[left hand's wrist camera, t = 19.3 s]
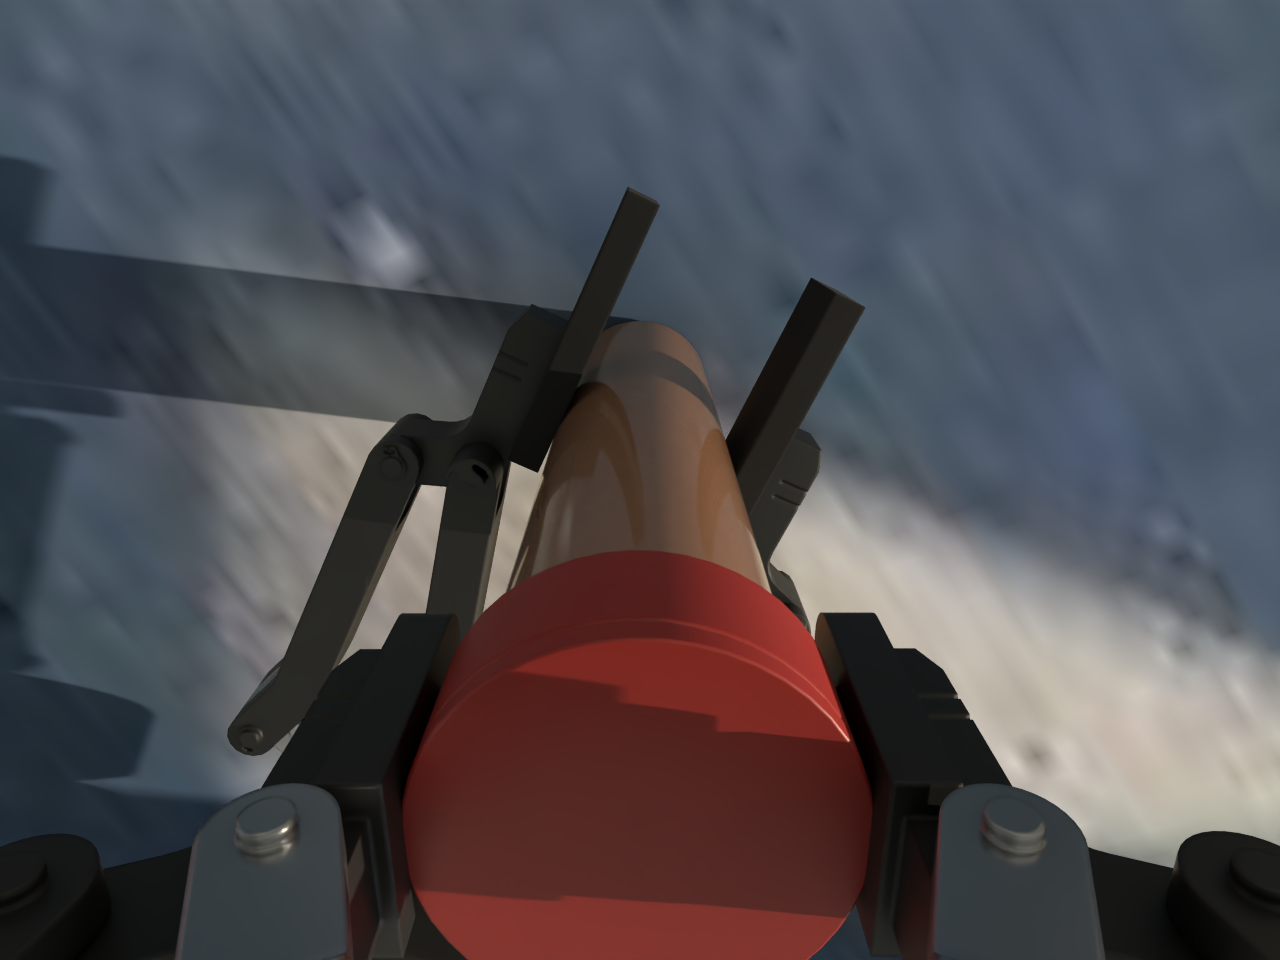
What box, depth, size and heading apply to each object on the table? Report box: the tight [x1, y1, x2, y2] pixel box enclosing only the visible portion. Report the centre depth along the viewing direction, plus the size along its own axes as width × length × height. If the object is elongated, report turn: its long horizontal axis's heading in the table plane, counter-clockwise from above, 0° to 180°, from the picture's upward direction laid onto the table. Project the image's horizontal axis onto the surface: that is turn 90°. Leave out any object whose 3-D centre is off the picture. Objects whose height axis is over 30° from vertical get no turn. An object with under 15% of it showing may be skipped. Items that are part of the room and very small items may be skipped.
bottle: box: [506, 321, 772, 594], centre depth 19 cm, size 4×4×19 cm
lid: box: [402, 550, 873, 960], centre depth 10 cm, size 5×5×2 cm
